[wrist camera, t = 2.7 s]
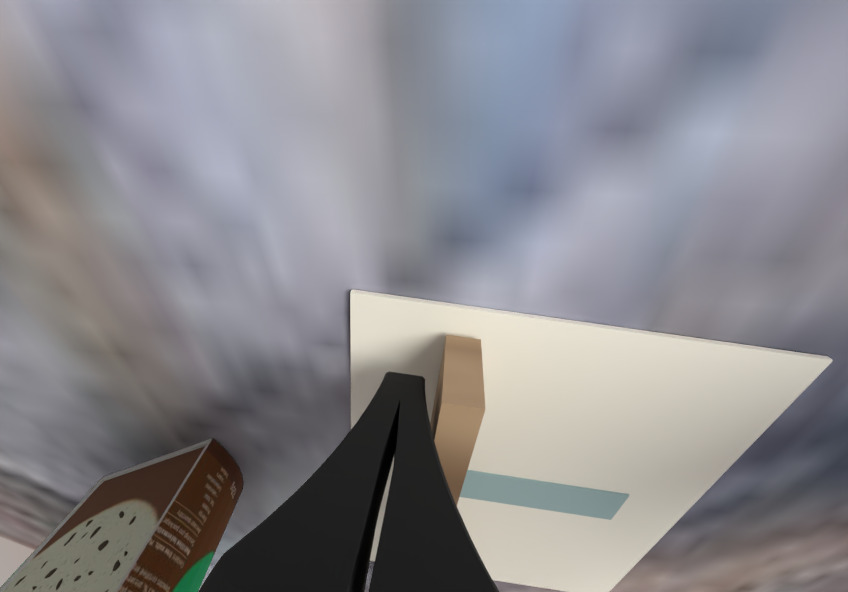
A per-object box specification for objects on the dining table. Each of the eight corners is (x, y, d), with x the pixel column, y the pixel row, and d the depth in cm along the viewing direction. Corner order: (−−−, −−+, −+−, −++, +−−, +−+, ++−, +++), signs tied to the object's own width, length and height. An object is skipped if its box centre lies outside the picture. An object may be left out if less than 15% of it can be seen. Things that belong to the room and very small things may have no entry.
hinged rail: (444, 493, 18) (439, 607, 14) (416, 488, 18) (403, 601, 14) (483, 339, 12) (492, 456, 9) (443, 334, 12) (434, 447, 9)
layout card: (828, 356, 12) (835, 362, 12) (602, 593, 23) (604, 599, 22) (351, 289, 12) (349, 293, 12) (352, 554, 23) (351, 559, 23)
